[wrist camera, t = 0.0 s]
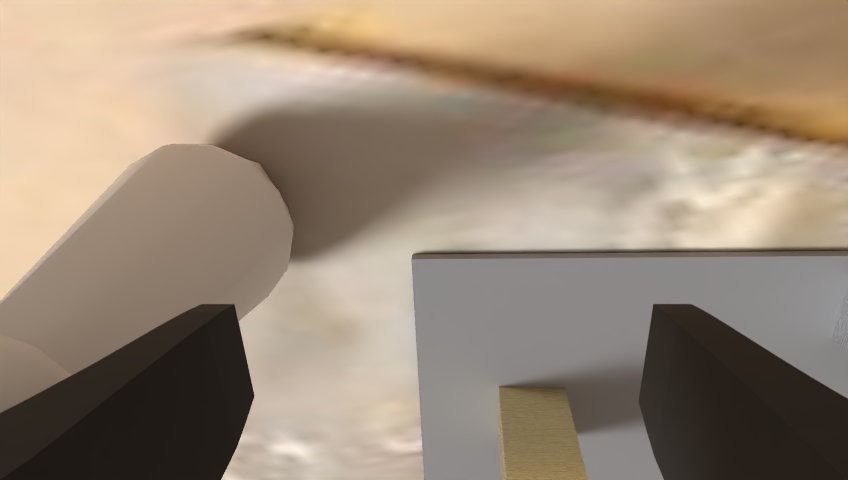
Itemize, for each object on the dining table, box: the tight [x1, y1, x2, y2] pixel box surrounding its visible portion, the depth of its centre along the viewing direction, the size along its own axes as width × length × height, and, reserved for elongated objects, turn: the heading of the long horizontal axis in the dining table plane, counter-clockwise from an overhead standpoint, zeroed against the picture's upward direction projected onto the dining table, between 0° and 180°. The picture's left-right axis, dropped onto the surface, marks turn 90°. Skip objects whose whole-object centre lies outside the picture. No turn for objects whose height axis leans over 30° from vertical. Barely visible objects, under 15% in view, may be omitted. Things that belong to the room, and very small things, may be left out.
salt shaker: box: [0, 144, 294, 413], centre depth 14 cm, size 6×6×13 cm
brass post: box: [498, 386, 588, 480], centre depth 20 cm, size 3×3×6 cm
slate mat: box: [412, 251, 848, 480], centre depth 23 cm, size 18×21×1 cm
